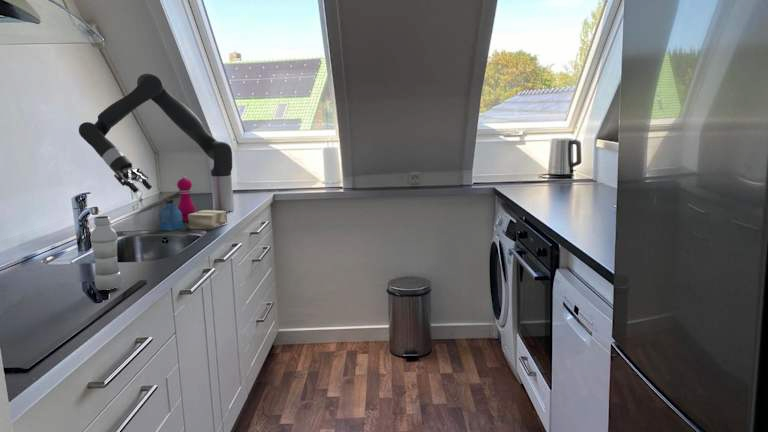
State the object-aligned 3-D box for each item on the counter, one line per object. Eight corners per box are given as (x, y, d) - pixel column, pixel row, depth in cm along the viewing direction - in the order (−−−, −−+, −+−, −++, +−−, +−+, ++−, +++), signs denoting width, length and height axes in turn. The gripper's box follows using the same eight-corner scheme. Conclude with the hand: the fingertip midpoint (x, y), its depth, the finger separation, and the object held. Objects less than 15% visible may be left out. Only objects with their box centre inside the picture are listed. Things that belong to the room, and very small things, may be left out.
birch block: (204, 223, 241) (203, 209, 240) (227, 224, 238) (226, 211, 236) (189, 228, 230) (188, 214, 229) (212, 230, 227) (211, 215, 226)
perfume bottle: (183, 227, 231) (180, 199, 229) (171, 230, 226) (169, 201, 224) (171, 226, 234) (169, 198, 232) (160, 229, 228) (157, 200, 226)
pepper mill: (190, 222, 243) (186, 176, 239) (175, 221, 245) (171, 176, 241) (198, 218, 250) (195, 174, 246) (184, 218, 252) (180, 174, 248)
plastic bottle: (101, 286, 154) (93, 215, 150) (126, 285, 154) (119, 214, 151) (91, 294, 148) (82, 220, 144) (117, 293, 148) (110, 219, 144)
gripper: (109, 156, 222) (137, 185, 222) (133, 153, 236) (159, 181, 235) (99, 169, 225) (126, 198, 224) (124, 166, 238) (149, 193, 238)
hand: (143, 189), depth 230 cm, fingers open, 8 cm apart
